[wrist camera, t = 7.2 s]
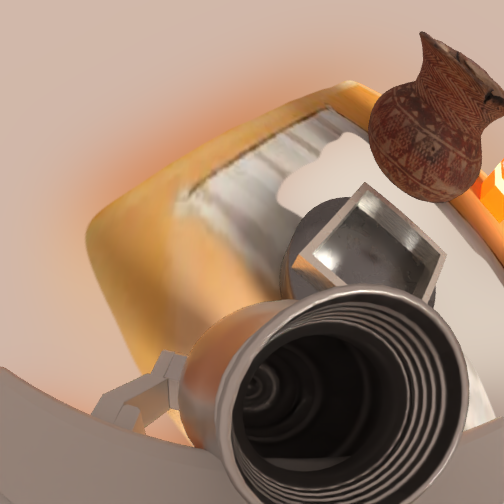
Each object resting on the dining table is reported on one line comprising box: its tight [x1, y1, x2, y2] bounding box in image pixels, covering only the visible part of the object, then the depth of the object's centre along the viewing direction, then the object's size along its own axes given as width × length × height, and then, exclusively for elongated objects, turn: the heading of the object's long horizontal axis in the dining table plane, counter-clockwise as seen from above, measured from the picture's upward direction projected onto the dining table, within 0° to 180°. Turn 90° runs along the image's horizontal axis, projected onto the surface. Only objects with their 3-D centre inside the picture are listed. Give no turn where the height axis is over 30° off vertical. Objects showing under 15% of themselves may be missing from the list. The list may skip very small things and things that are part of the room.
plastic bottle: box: [178, 283, 469, 504], centre depth 11 cm, size 6×7×20 cm
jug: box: [368, 32, 504, 203], centre depth 31 cm, size 22×21×25 cm
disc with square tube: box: [280, 182, 447, 308], centre depth 27 cm, size 18×20×8 cm
